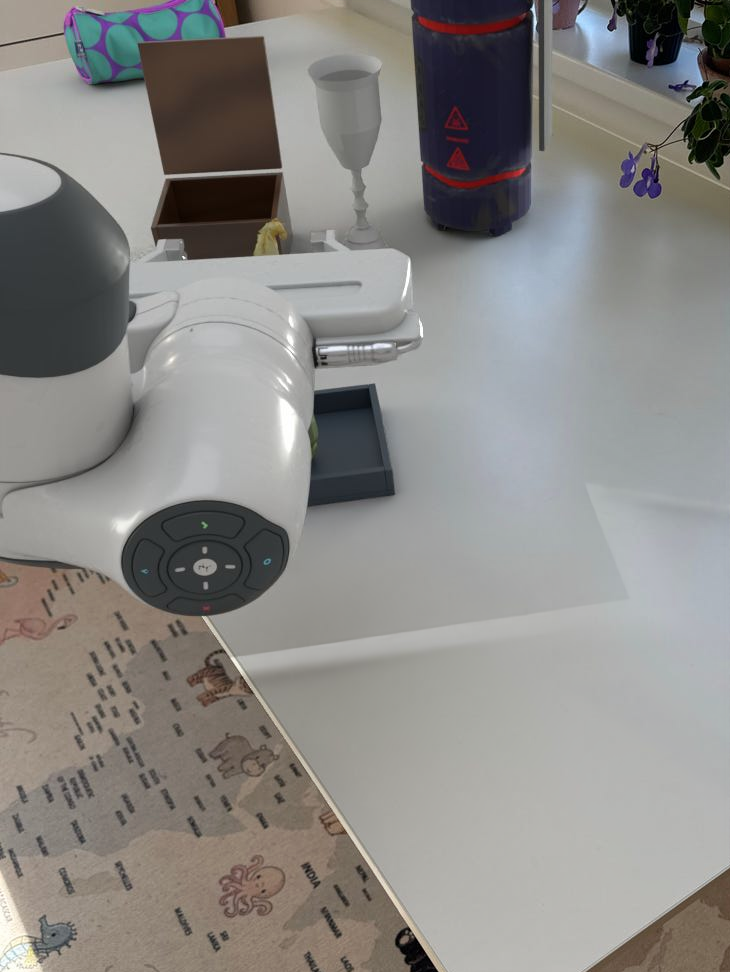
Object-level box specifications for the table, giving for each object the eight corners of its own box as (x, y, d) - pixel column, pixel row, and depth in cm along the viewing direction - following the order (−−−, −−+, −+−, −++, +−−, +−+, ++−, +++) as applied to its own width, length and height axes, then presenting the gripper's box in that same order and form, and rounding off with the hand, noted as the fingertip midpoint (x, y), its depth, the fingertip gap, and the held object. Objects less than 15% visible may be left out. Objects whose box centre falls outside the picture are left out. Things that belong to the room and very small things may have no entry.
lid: (263, 36, 101) (264, 35, 102) (136, 42, 101) (138, 41, 101) (281, 168, 108) (282, 167, 109) (163, 175, 108) (165, 173, 108)
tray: (214, 518, 81) (207, 493, 79) (213, 427, 89) (207, 403, 87) (395, 494, 83) (392, 469, 81) (377, 407, 91) (375, 382, 89)
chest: (287, 283, 106) (276, 220, 101) (166, 290, 106) (150, 227, 101) (292, 232, 114) (282, 171, 109) (180, 239, 113) (165, 178, 108)
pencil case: (88, 96, 142) (66, 18, 135) (75, 76, 148) (53, -1, 141) (234, 69, 148) (220, -8, 141) (216, 50, 154) (202, -24, 147)
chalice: (370, 273, 107) (350, 86, 94) (318, 257, 110) (291, 73, 96) (410, 244, 111) (397, 61, 98) (359, 229, 114) (339, 49, 101)
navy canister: (409, 234, 113) (385, -98, 91) (442, 187, 120) (426, -129, 98) (534, 248, 110) (539, -91, 88) (558, 199, 118) (569, -124, 96)
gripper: (421, 301, 54) (410, 186, 64) (23, 325, 53) (72, 205, 63) (427, 403, 59) (417, 282, 68) (62, 427, 58) (102, 301, 67)
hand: (249, 245), depth 65 cm, fingers open, 8 cm apart
